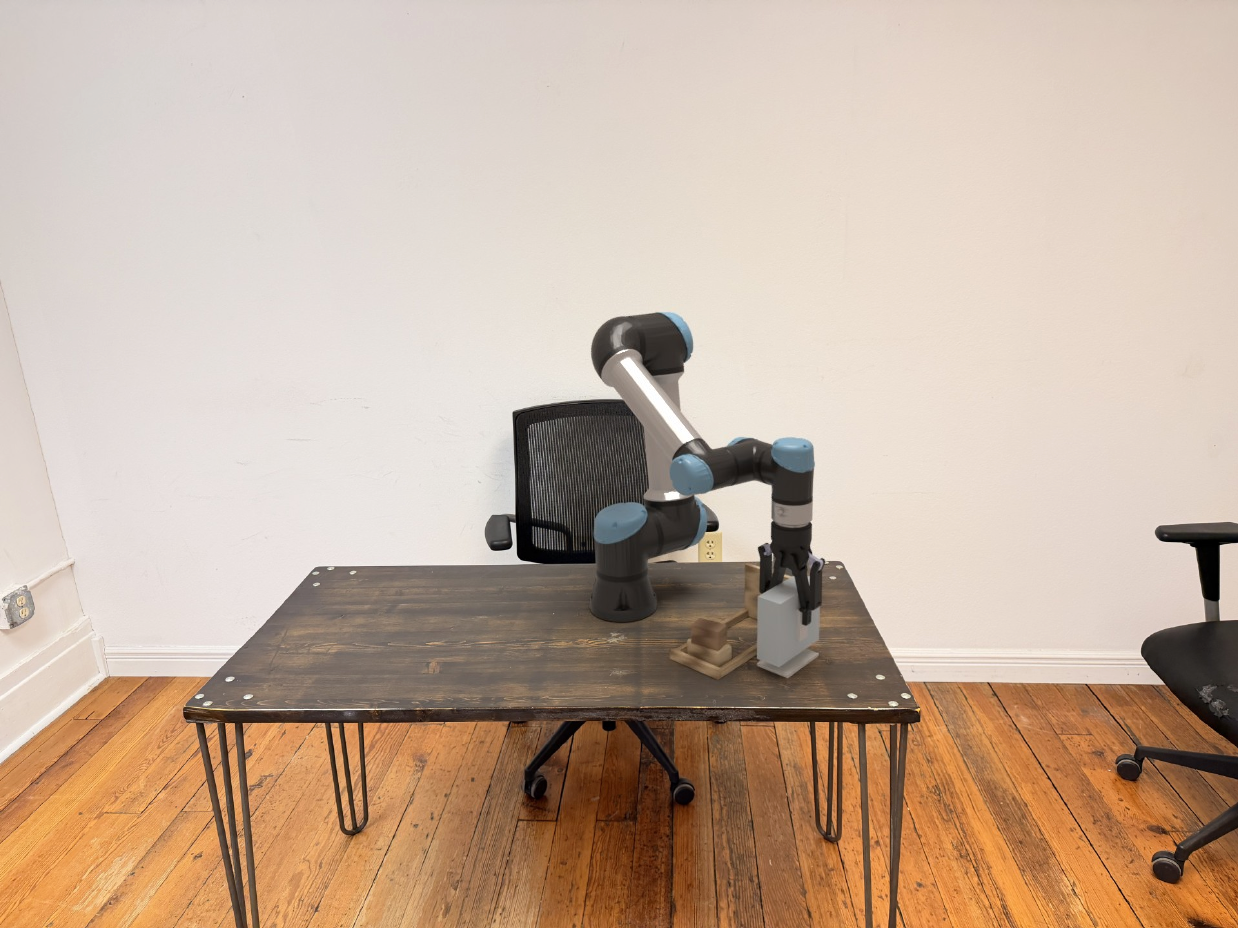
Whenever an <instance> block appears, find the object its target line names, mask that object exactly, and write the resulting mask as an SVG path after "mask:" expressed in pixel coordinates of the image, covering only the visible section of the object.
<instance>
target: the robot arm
mask: <svg viewBox="0 0 1238 928" xmlns="http://www.w3.org/2000/svg"><path fill="white" fill-rule="evenodd" d="M693 339H694V338H693V335H692V331H691V329H690V327H689V325H688V323H687V322H686V321H685V320H684V319H683V317H682V316H680V315H679V314H677V313H675V312H671V311H668V312H667V311H666V312H664V311H663V312H660V311H655V312H652V313H642V314H634V315H623V316H616V317H613V318H610V319H608V320H607V321H605V322H604V323H602V325H600V326H599V327H598V329H597V330H596V332H595V334H594V336H593V338H592V342H591V345H590V346H591V347H590V356H591V363H592V365H593V368H594V371H595V373H596V374H597V376H598V377H599V378H600V380H601V381H602V382H603V384H605V385H606V386H607V387H610V388H614V389H615V391H616V392H617V394H618V395H619V396H620V397H621V399H622V400H623V402H625V404H626V405H627V407H628V408H629V409H630V410H631V412H632V413H633V415H634V416H635V417H636V418H637V420H638V421H639V422H640V423H641V425H642V426H643V432H644V433H643V434H644V435H643V436H644V442H645V443H644V445H645V453H646V454H645V457H646V465H647V466H646V468H647V475H648V476H647V477H648V489H647V491H646V492H645V493H644V494H643V504H644V505H643V504H642V503H640V502H635V501H634V502H631V501H629V502H628V501H627V502H625V503H623V502H618V503H614V504H611V505H608V506H606V507H604V508H602V509H601V510H600V511H599V512H598V513H597V514H596V517H595V518H594V525H593V526H594V527H593V538H594V551H595V552H594V554H595V569H596V571H595V573H596V577H595V581H594V584H593V588H592V593H591V594H590V596H589V597H590V598H589V610H590V612H591V613H592V614H593V615H594V616H595V617H596V618H599V619H601V620H605V621H608V622H615V623H616V622H617V623H626V622H627V623H629V622H635V621H639V620H643V619H646V618H648V617H649V616H651V615H653V614H654V613H655V612H656V610H657V608H658V607H657V605H658V602H657V599H658V598H657V594H656V592H655V590H654V587H653V584H652V581H651V578H650V575H649V560H651V559H654V558H657V557H661V556H664V555H667V554H671V553H674V552H675V553H676V552H681V551H685V550H688V549H689V548H691V547H695V546H696V545H698V544H699V543H700V542H701V540H703V538H704V537H705V534H706V532H707V530H708V529H707V527H708V526H707V525H708V516H707V510H706V508H705V507H704V503H703V501H702V500H701V499H700V498H698V497H697V496H696V495H704V494H707V493H709V492H712V491H713V492H714V491H716V490H720V489H723V488H728V487H733V486H736V485H741V484H744V483H749V482H753V481H754V482H758V483H759V482H760V483H761V484H765V485H768V486H771V497H770V498H771V503H770V505H771V508H770V512H771V513H770V514H771V516H770V518H771V520H772V521H771V522H770V540H771V542H764V543H763V544H761V545H758V546H757V552H758V556H759V567H760V579H759V592H760V593H761V594H763V593H765V592H766V591H768V590H770V589H772V588H773V587H775V586H777V585H779V584H780V583H782V582H783V578H784V575H785V571H786V568H789V569H790V570H792V575H793V576H794V577H795V582H796V587H797V592H798V597H799V602H800V606H801V607H800V608H799V609H797V630H796V641H799V642H800V641H801V640H803V639H804V638H806V637H807V628H808V625H809V624H810V623H811V615H812V611H813V610H815V609H817V608H818V607H820V608H821V606H822V603H823V598H822V597H823V569H824V567H825V564H826V560H825V558H823V557H821V558H818V557H817V556H815V555H814V554H813V550H812V548H811V544H812V540H813V539H812V538H813V537H812V536H813V524H812V521H813V513H814V512H813V504H814V502H813V501H814V497H813V493H814V475H815V473H814V472H815V466H816V461H815V451H814V445H813V442H811V441H810V440H808V439H806V438H802V437H799V438H798V437H792V436H791V437H788V436H787V437H781V438H778V439H776V440H774V441H773V443H769V442H766V441H762V440H759V439H757V438H753V437H745V436H738V437H735V438H734V439H732V440H731V441H730V442H728V444H727V445H726V446H722V447H715V448H711V446H709V444H708V443H707V442H706V440H705V439H704V438H703V437H702V436H701V435H700V434H699V433H698V431H697V429H695V428H694V426H693V425H692V423H690V422H689V420H688V419H687V417H686V416H685V415H684V414H683V413H682V412H681V410H682V409H681V400H680V388H679V387H680V386H679V380H680V378H682V376H683V375H684V373H685V365H684V364H685V363H686V362H688V361H689V360H690V359H691V357H692V353H693V352H694V340H693ZM773 555H774V557H775V558H776V560H775V563H774V567H773ZM807 562H809V566H808V568H809V569H810V570H809V575H808V568H807ZM773 569H774V571H773ZM772 571H773V575H772ZM808 576H810V586H809V581H808Z"/></svg>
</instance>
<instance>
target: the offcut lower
mask: <svg viewBox="0 0 1238 928" xmlns="http://www.w3.org/2000/svg"><path fill="white" fill-rule="evenodd" d="M686 642H687V653H686V654H689V655H691V656H693V657H696V658H698V659H700V660H703V661H705V662H707V663H710V664H712V665H714V666H717V667H719V668H720V667H721V666H723V665H724V664H726V663H727V662H729V661H731V660H732V659H733V658H732V657H733V655H732V654H733V651H732V650H733V646H732V645H730V644H728V643H727V644H726V645H724V646H723V647H722V648H721V649H720V650H719V651H716V650H713V649H709V648H706V647H702V646H699V645H696V644H692V643H691V637H690V638H688V639H687V641H686Z"/></svg>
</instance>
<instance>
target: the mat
mask: <svg viewBox="0 0 1238 928" xmlns="http://www.w3.org/2000/svg"><path fill="white" fill-rule="evenodd" d="M819 655H820V654H819V652H816V651H814V650H812V649H809V648H806V649H805V650H803V651H802V652H800V653H799V654H798V655H796V656H795V657H793V658H792V659H790V660H789V661H788V662H786V663H785V664H783V665H782V666H780V667H777V666H774V665H772V664H769V663H767V662H764V661H762V660H759V661H758V662H756V666H757V667H758V668H759V667H760V668H762V669H764V670H766V671H769V672H771V673H773V674H776V675H779V676H780V677H784V678H786V679H789V678H790V677H792V676H793V675H794V674H796V673H798V672H799V670H801V669H802V668H804V667H806V666H807V665H808V664H810V663H811V662H812V661H814V660H815V659H817V658H818V657H820V656H819Z"/></svg>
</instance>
